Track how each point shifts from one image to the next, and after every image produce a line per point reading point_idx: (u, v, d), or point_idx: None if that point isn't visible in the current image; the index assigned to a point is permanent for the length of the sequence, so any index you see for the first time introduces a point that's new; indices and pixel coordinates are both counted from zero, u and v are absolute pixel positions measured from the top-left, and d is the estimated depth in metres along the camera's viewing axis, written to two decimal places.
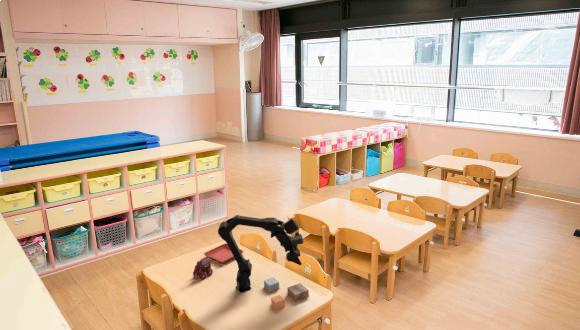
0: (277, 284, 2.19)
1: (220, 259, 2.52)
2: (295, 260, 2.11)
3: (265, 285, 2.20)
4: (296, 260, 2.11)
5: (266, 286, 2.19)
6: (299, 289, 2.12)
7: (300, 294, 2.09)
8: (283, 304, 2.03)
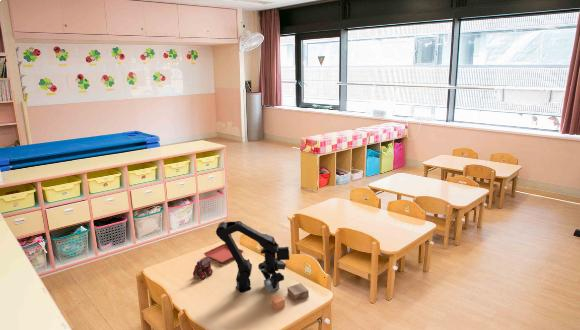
0: (277, 284, 2.19)
1: (220, 259, 2.52)
2: (274, 282, 2.15)
3: (265, 285, 2.20)
4: (274, 283, 2.16)
5: (266, 286, 2.19)
6: (299, 289, 2.12)
7: (300, 294, 2.09)
8: (283, 304, 2.03)
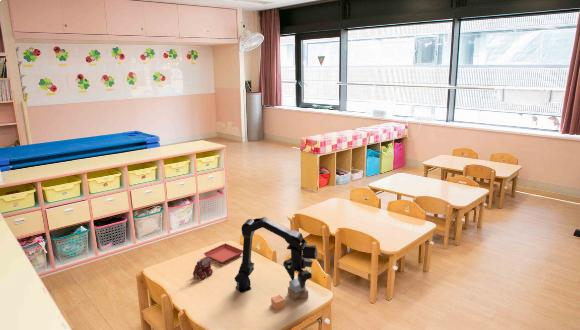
0: None
1: (220, 259, 2.52)
2: (302, 282, 2.05)
3: (291, 286, 2.11)
4: (303, 282, 2.05)
5: (292, 287, 2.10)
6: None
7: (299, 294, 2.08)
8: (283, 304, 2.03)
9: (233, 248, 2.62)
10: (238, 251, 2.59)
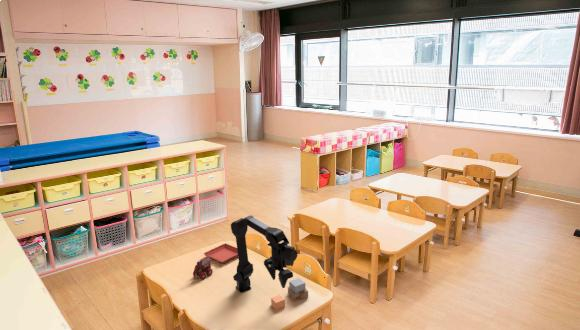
0: (303, 285, 2.10)
1: (220, 259, 2.52)
2: (283, 281, 1.96)
3: (291, 286, 2.11)
4: (284, 281, 1.97)
5: (292, 287, 2.10)
6: None
7: (299, 294, 2.09)
8: (283, 304, 2.03)
9: (233, 248, 2.62)
10: None
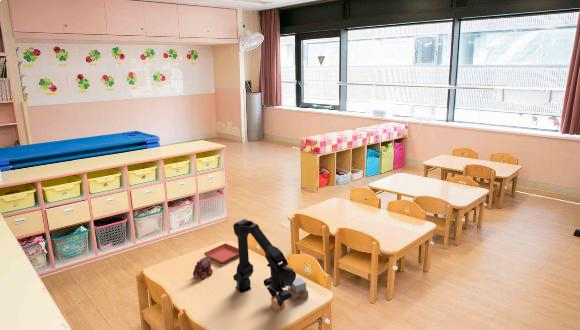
0: (304, 285, 2.10)
1: (220, 259, 2.52)
2: (280, 300, 2.00)
3: None
4: (281, 300, 2.00)
5: (292, 286, 2.11)
6: None
7: (299, 294, 2.08)
8: (283, 303, 2.03)
9: (233, 248, 2.62)
10: (238, 251, 2.59)
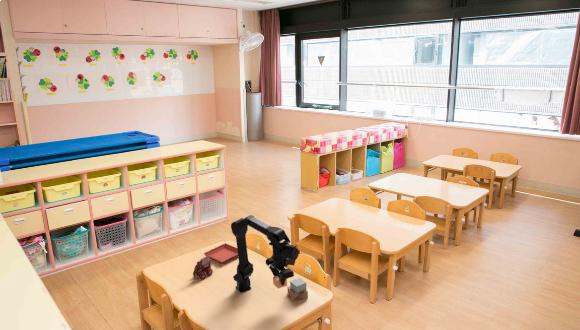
0: (304, 285, 2.10)
1: (220, 259, 2.52)
2: (282, 279, 1.98)
3: (292, 286, 2.11)
4: (283, 279, 1.98)
5: (293, 287, 2.10)
6: None
7: (299, 294, 2.08)
8: (285, 282, 2.01)
9: (233, 248, 2.62)
10: None
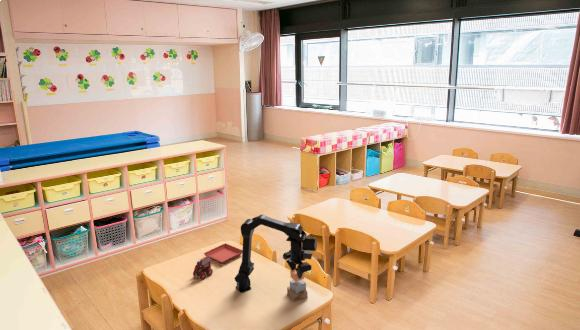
0: (304, 285, 2.10)
1: (220, 259, 2.52)
2: (300, 272, 2.05)
3: (291, 286, 2.11)
4: (300, 272, 2.06)
5: (292, 287, 2.10)
6: None
7: (299, 294, 2.08)
8: (302, 276, 2.08)
9: (233, 248, 2.62)
10: (238, 251, 2.59)
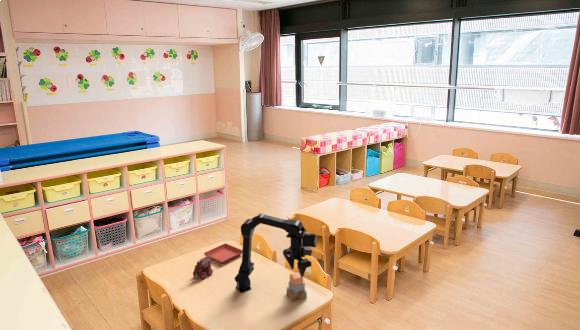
0: (303, 285, 2.10)
1: (220, 259, 2.52)
2: (302, 270, 2.03)
3: (290, 286, 2.11)
4: (302, 270, 2.04)
5: (291, 287, 2.10)
6: None
7: (298, 295, 2.08)
8: (301, 280, 2.09)
9: (233, 248, 2.62)
10: (238, 251, 2.59)
